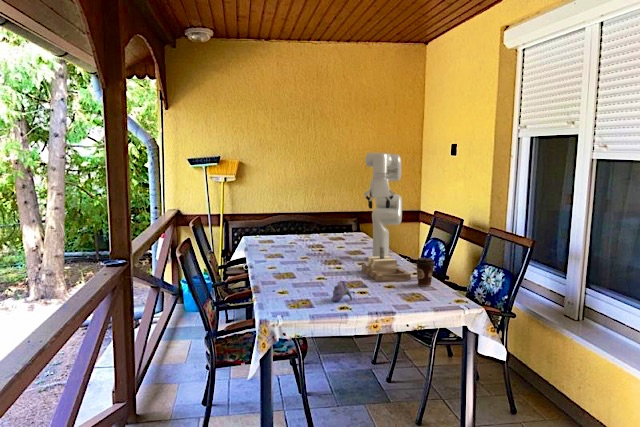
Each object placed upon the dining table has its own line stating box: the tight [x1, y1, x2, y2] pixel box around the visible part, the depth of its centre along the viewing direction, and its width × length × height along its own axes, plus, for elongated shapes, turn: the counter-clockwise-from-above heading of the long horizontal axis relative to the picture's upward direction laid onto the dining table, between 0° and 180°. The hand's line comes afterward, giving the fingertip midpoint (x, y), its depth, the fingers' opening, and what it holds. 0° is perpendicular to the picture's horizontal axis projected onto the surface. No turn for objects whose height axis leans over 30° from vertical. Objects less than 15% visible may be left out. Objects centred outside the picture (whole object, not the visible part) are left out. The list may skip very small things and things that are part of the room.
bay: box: [361, 264, 412, 283], centre depth 255 cm, size 26×17×3 cm, turn 14°
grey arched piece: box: [331, 280, 353, 303], centre depth 210 cm, size 9×9×10 cm
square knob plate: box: [366, 247, 398, 274], centre depth 259 cm, size 12×12×13 cm
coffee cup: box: [415, 257, 435, 287], centre depth 235 cm, size 9×8×13 cm
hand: (379, 208), depth 262 cm, fingers open, 9 cm apart
